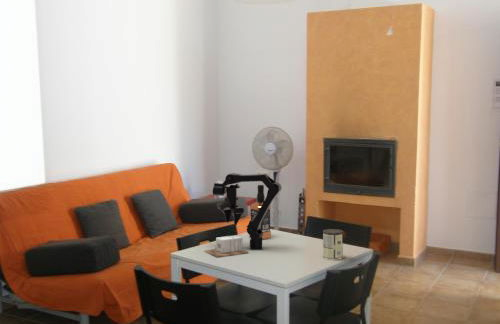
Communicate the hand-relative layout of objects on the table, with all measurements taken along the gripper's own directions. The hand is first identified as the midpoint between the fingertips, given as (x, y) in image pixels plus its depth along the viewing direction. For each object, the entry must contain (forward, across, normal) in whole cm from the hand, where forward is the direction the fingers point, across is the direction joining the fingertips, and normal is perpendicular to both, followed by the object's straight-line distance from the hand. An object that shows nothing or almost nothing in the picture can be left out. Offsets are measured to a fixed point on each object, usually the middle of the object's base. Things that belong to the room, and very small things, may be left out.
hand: (231, 223), depth 303 cm
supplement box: (+9, +11, -13) cm, 19 cm away
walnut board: (+13, +10, -9) cm, 19 cm away
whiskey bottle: (+13, -11, +26) cm, 32 cm away
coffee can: (+13, +47, +34) cm, 59 cm away
